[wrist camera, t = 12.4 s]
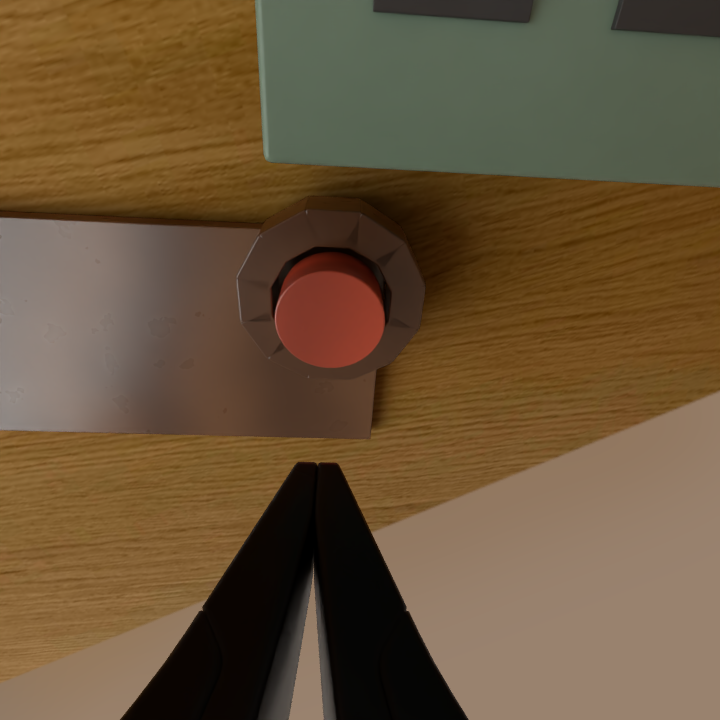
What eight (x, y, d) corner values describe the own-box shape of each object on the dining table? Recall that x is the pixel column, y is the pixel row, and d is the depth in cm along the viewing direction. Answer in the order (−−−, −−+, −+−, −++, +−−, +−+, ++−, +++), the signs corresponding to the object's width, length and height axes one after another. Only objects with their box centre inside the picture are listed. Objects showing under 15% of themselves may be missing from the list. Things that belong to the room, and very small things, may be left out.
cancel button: (385, 253, 15) (390, 273, 14) (377, 344, 17) (380, 370, 16) (278, 248, 15) (271, 268, 14) (282, 341, 17) (276, 366, 16)
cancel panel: (424, 196, 16) (436, 215, 14) (394, 430, 22) (399, 467, 20) (-137, 166, 15) (-214, 183, 13) (-8, 420, 21) (-47, 458, 19)
